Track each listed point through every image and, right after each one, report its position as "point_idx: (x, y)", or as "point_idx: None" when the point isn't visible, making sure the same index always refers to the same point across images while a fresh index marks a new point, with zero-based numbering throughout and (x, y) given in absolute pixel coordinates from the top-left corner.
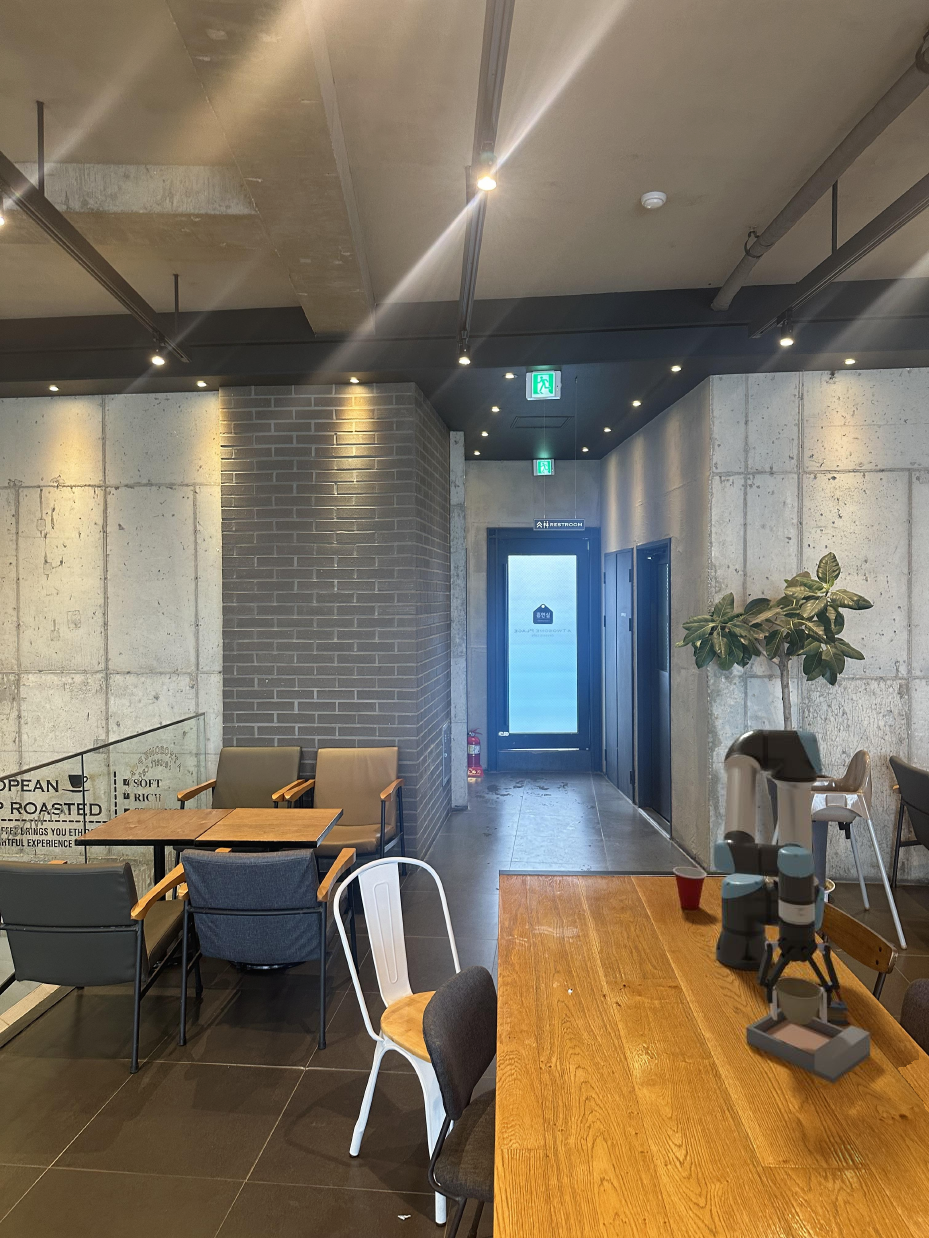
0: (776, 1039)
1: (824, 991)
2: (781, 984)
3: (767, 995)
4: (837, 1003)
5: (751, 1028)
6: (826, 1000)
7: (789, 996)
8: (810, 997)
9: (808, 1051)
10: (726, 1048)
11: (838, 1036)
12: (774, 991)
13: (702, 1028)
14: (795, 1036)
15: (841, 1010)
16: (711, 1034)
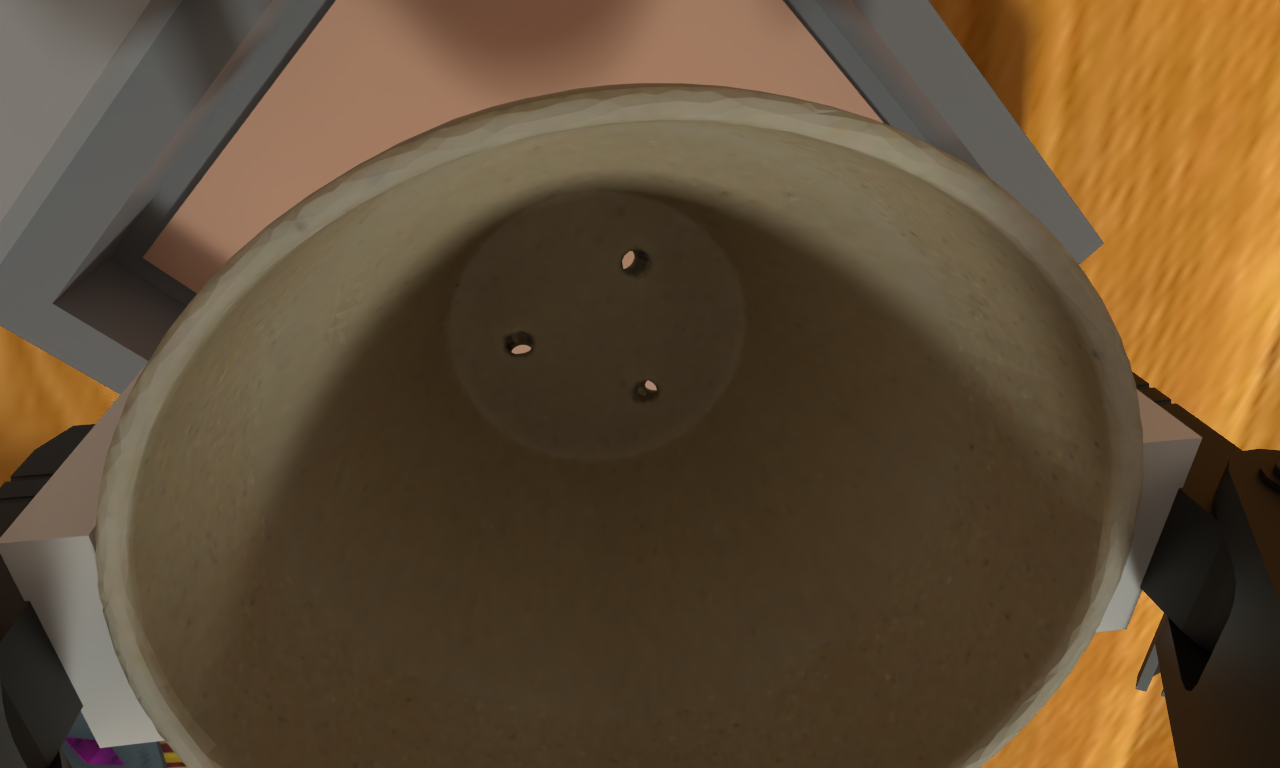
0: (899, 13)
1: (52, 595)
2: (820, 737)
3: (1181, 409)
4: (111, 757)
5: (1065, 225)
6: (88, 434)
7: (1003, 199)
8: (388, 596)
9: (527, 12)
10: (1232, 73)
11: (101, 11)
12: (1166, 429)
13: (1251, 361)
14: None
15: None
16: (1232, 286)
